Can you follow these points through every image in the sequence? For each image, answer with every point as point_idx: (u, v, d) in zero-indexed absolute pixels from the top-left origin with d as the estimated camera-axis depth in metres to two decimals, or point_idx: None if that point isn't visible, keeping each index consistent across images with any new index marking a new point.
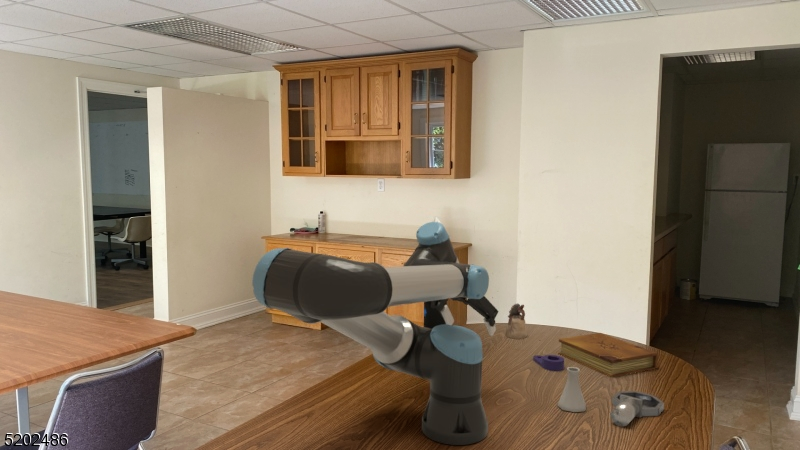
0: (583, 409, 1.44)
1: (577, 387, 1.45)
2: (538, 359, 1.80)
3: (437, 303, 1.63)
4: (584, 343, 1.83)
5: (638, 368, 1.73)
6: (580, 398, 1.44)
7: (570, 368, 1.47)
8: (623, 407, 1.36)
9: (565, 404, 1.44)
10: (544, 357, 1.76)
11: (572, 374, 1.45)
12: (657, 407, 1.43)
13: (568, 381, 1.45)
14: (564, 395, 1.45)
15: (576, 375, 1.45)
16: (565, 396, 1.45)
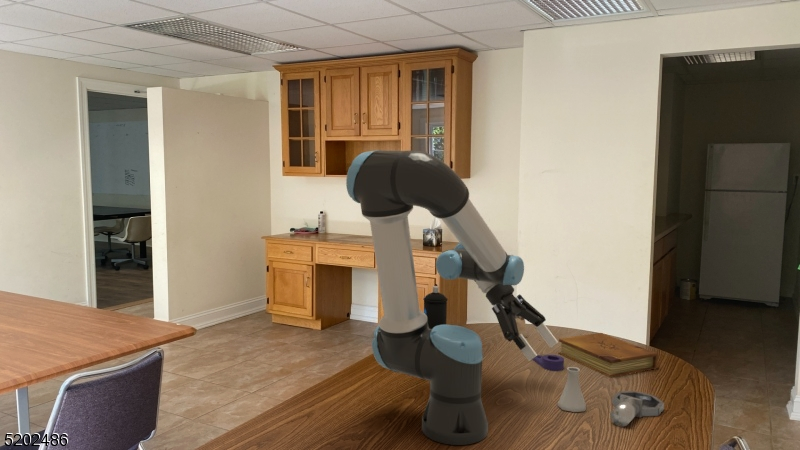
0: (583, 409, 1.44)
1: (577, 387, 1.45)
2: (538, 359, 1.80)
3: None
4: (584, 343, 1.83)
5: (638, 368, 1.73)
6: (580, 398, 1.44)
7: (570, 368, 1.47)
8: (623, 407, 1.36)
9: (565, 404, 1.44)
10: (544, 357, 1.76)
11: (572, 374, 1.45)
12: (657, 407, 1.43)
13: (568, 381, 1.45)
14: (564, 395, 1.45)
15: (576, 375, 1.45)
16: (565, 396, 1.45)
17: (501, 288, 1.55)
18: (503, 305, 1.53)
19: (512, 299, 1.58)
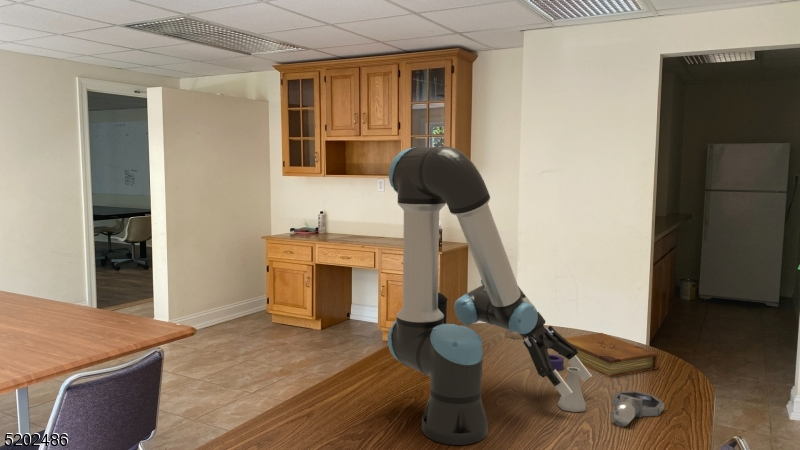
0: (583, 409, 1.44)
1: (577, 387, 1.45)
2: None
3: None
4: (584, 343, 1.83)
5: (637, 368, 1.73)
6: (580, 398, 1.44)
7: (570, 368, 1.47)
8: (623, 407, 1.36)
9: (565, 404, 1.44)
10: None
11: (572, 374, 1.45)
12: (657, 407, 1.43)
13: (568, 381, 1.45)
14: None
15: (576, 375, 1.45)
16: None
17: None
18: (535, 338, 1.48)
19: (543, 331, 1.52)
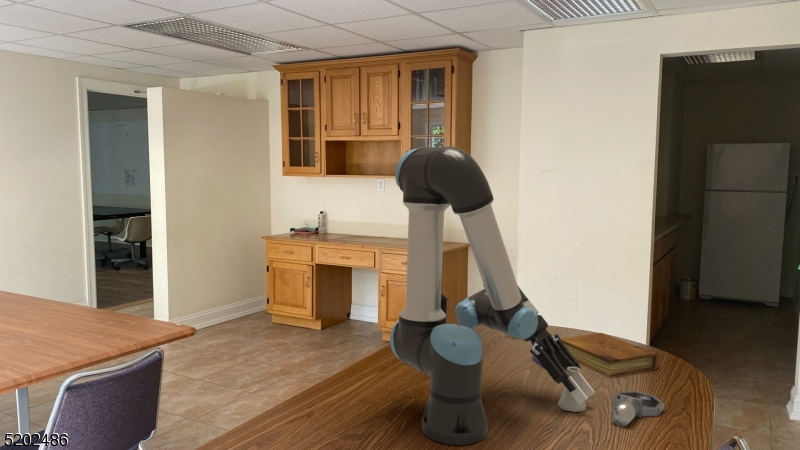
0: (583, 409, 1.44)
1: None
2: None
3: None
4: (584, 343, 1.83)
5: (637, 368, 1.73)
6: None
7: (570, 368, 1.47)
8: (623, 407, 1.36)
9: (565, 404, 1.44)
10: None
11: (572, 374, 1.45)
12: (657, 407, 1.43)
13: None
14: (564, 395, 1.45)
15: (576, 375, 1.45)
16: (565, 396, 1.45)
17: None
18: (537, 342, 1.47)
19: (546, 335, 1.51)
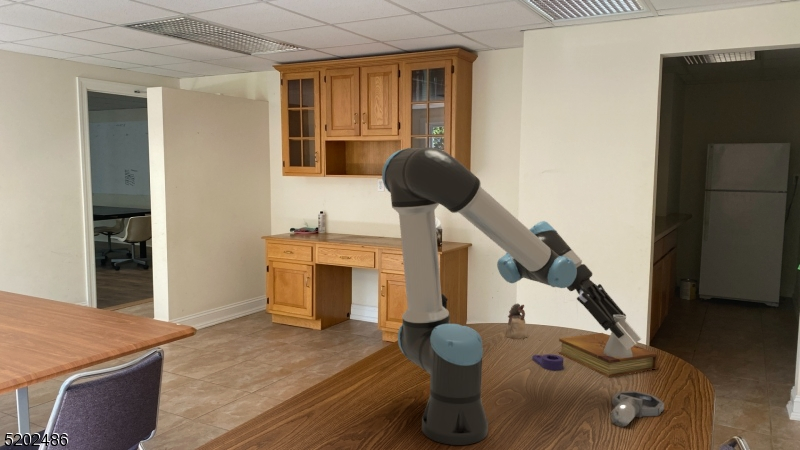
0: (630, 355, 1.44)
1: None
2: (537, 359, 1.80)
3: None
4: (584, 343, 1.83)
5: (637, 368, 1.73)
6: None
7: (616, 316, 1.47)
8: (623, 407, 1.36)
9: (612, 350, 1.45)
10: (543, 357, 1.76)
11: (619, 321, 1.45)
12: (657, 407, 1.43)
13: None
14: (611, 342, 1.46)
15: (623, 321, 1.45)
16: (612, 343, 1.45)
17: (580, 272, 1.48)
18: (583, 290, 1.47)
19: (590, 284, 1.51)
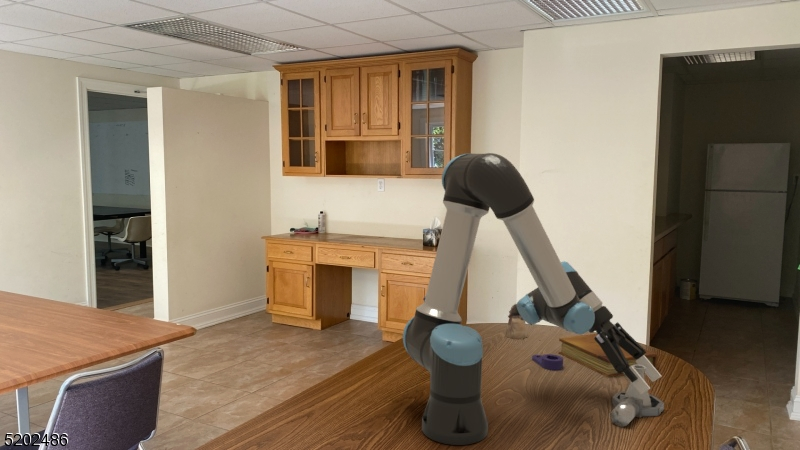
0: (649, 406, 1.45)
1: None
2: (537, 358, 1.80)
3: None
4: (584, 343, 1.83)
5: None
6: (646, 395, 1.45)
7: (635, 366, 1.48)
8: (623, 407, 1.36)
9: None
10: (543, 356, 1.76)
11: (638, 371, 1.45)
12: (657, 407, 1.43)
13: None
14: (630, 393, 1.46)
15: (642, 372, 1.45)
16: (631, 393, 1.46)
17: (600, 315, 1.49)
18: (604, 333, 1.47)
19: (611, 326, 1.51)
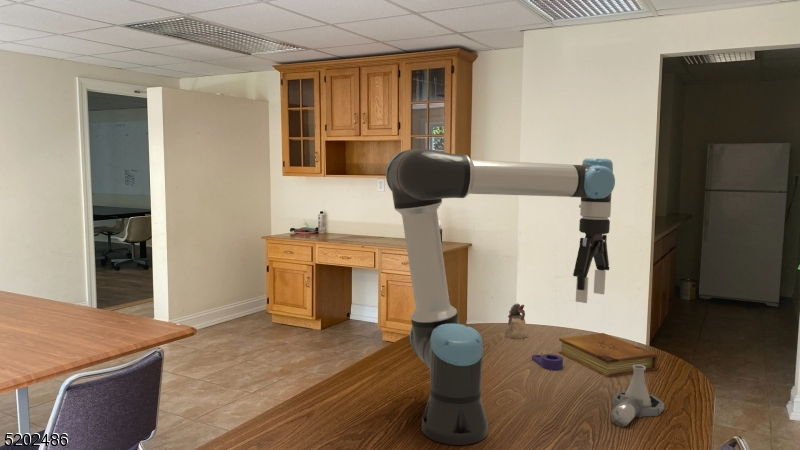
0: (649, 406, 1.45)
1: (643, 384, 1.45)
2: (537, 358, 1.80)
3: None
4: (584, 343, 1.83)
5: None
6: (646, 395, 1.45)
7: (635, 366, 1.48)
8: (623, 407, 1.36)
9: None
10: (543, 356, 1.76)
11: (638, 371, 1.45)
12: (657, 407, 1.43)
13: (634, 378, 1.46)
14: (630, 393, 1.46)
15: (642, 372, 1.45)
16: (631, 393, 1.46)
17: (600, 226, 1.47)
18: (591, 242, 1.48)
19: (599, 238, 1.52)
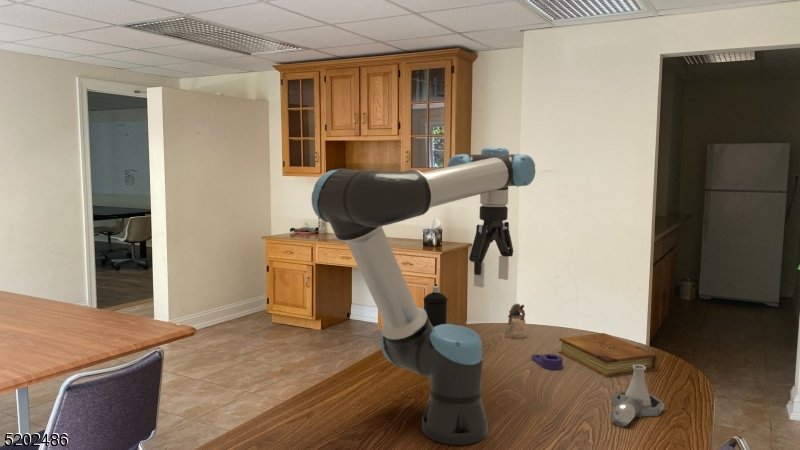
0: None
1: (643, 384, 1.45)
2: (537, 358, 1.80)
3: None
4: (584, 343, 1.83)
5: None
6: (646, 395, 1.45)
7: (635, 366, 1.48)
8: (623, 407, 1.36)
9: None
10: (543, 356, 1.76)
11: (638, 371, 1.45)
12: (657, 407, 1.43)
13: (634, 378, 1.46)
14: (630, 393, 1.46)
15: (642, 372, 1.45)
16: (631, 393, 1.46)
17: (497, 213, 1.53)
18: (488, 228, 1.53)
19: (499, 225, 1.57)
